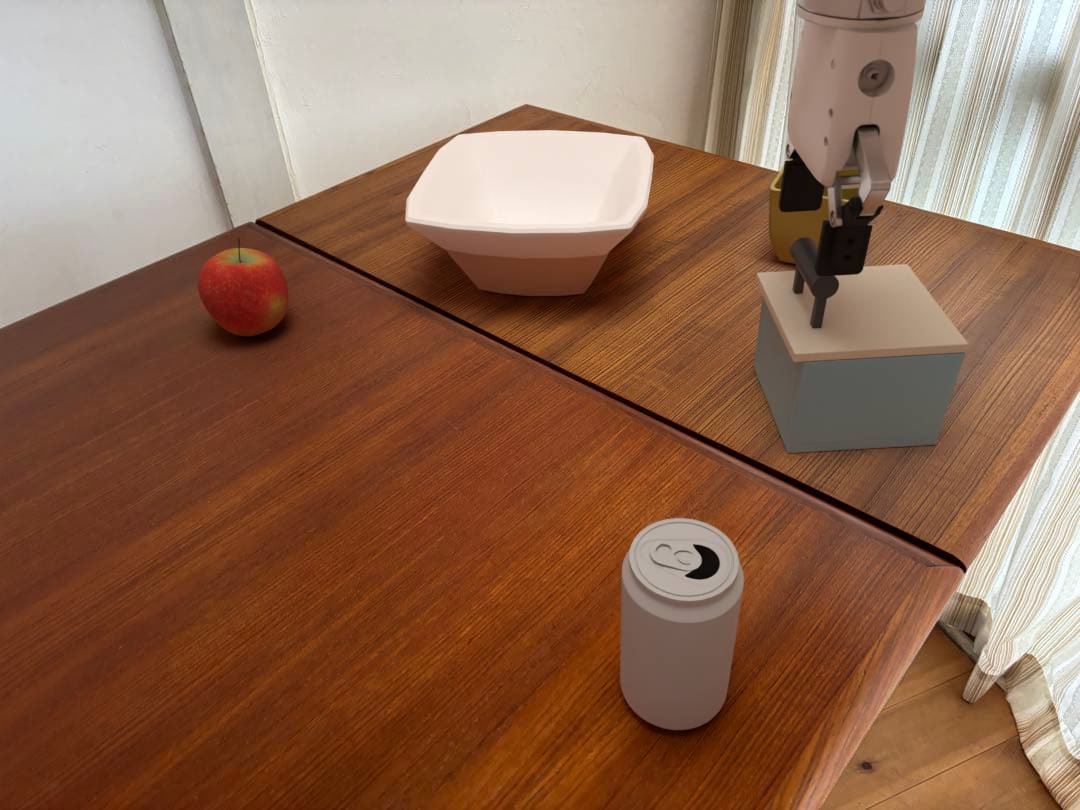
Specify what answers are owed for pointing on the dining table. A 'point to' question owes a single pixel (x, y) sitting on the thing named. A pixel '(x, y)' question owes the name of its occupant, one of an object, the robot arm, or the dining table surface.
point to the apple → (243, 291)
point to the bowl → (532, 205)
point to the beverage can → (679, 622)
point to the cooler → (853, 396)
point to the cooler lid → (855, 311)
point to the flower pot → (799, 218)
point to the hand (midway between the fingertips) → (817, 239)
